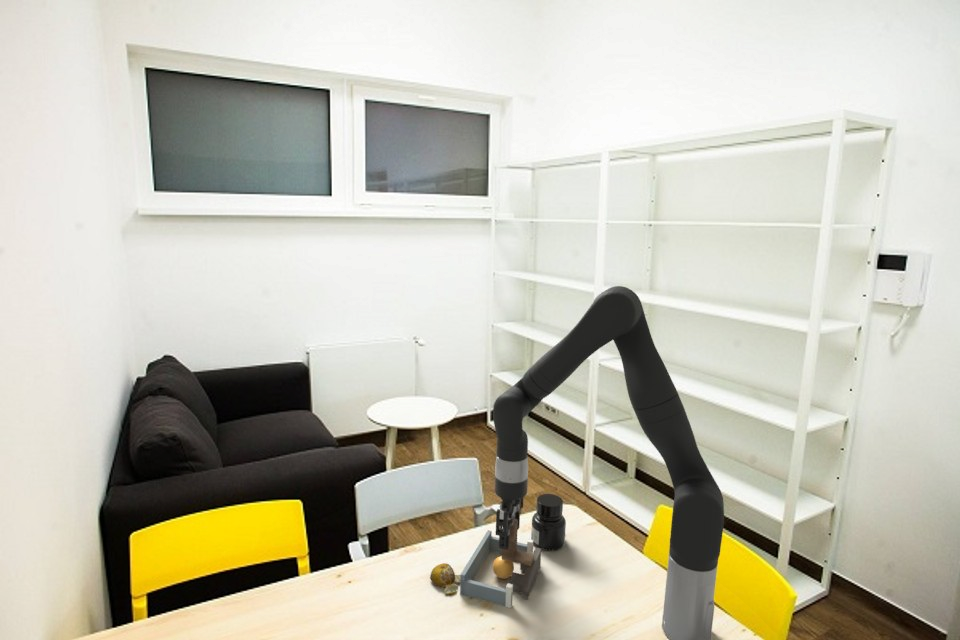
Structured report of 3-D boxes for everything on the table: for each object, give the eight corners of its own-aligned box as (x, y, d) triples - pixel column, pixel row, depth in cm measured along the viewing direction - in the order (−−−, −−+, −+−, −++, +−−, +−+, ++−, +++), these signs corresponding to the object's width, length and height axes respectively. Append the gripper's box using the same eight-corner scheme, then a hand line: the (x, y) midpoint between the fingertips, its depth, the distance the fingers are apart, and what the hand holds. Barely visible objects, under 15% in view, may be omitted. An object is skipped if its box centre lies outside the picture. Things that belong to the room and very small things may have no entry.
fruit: (453, 599, 122) (453, 584, 121) (422, 587, 125) (422, 572, 125) (471, 578, 129) (471, 564, 128) (441, 567, 133) (441, 554, 132)
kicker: (540, 567, 132) (542, 514, 130) (527, 599, 121) (530, 541, 118) (510, 560, 135) (512, 507, 132) (494, 590, 124) (496, 533, 121)
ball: (505, 573, 132) (520, 565, 130) (498, 586, 127) (514, 577, 125) (492, 556, 132) (507, 548, 130) (485, 568, 128) (501, 560, 126)
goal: (532, 558, 137) (533, 540, 136) (510, 608, 119) (511, 587, 118) (487, 547, 141) (488, 529, 140) (459, 594, 123) (460, 574, 122)
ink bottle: (535, 528, 150) (537, 488, 147) (567, 535, 147) (570, 494, 145) (527, 548, 141) (528, 505, 138) (560, 555, 138) (563, 512, 136)
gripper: (518, 491, 116) (516, 559, 119) (535, 463, 129) (532, 525, 132) (485, 484, 119) (484, 551, 122) (505, 458, 132) (503, 519, 135)
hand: (509, 538), depth 127 cm, fingers open, 8 cm apart
